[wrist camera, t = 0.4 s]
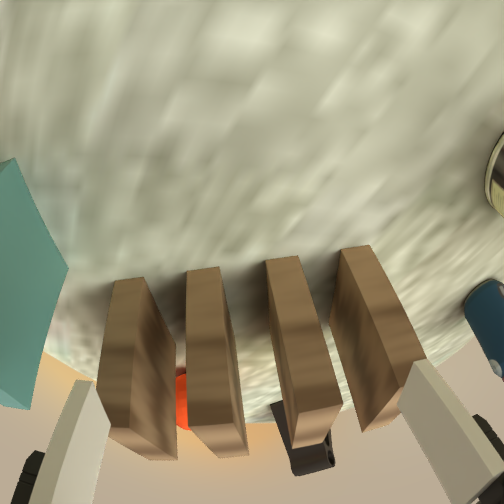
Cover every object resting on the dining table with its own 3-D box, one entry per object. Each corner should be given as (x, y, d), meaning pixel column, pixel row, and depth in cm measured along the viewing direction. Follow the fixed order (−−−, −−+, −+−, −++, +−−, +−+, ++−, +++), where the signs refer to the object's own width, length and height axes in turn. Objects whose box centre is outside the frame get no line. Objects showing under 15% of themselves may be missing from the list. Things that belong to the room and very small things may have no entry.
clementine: (187, 352, 32) (189, 415, 26) (238, 368, 35) (246, 424, 30) (153, 378, 35) (152, 432, 30) (200, 391, 39) (203, 441, 34)
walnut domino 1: (115, 280, 24) (92, 426, 15) (143, 276, 24) (129, 427, 15) (152, 346, 30) (149, 460, 22) (175, 344, 31) (177, 460, 22)
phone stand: (269, 403, 45) (282, 476, 36) (304, 391, 43) (321, 466, 34) (296, 414, 50) (309, 476, 41) (327, 402, 48) (343, 466, 40)
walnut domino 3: (265, 259, 24) (298, 413, 15) (297, 255, 24) (343, 403, 15) (269, 332, 31) (292, 448, 22) (294, 328, 31) (322, 442, 22)
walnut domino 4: (341, 249, 24) (399, 387, 16) (369, 244, 25) (434, 375, 16) (328, 322, 31) (361, 432, 22) (351, 318, 31) (388, 424, 22)
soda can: (454, 317, 36) (491, 391, 27) (468, 285, 31) (514, 367, 22) (490, 301, 35) (527, 368, 27) (505, 269, 31) (551, 341, 22)
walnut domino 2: (186, 270, 24) (187, 426, 15) (219, 266, 24) (233, 422, 15) (209, 340, 31) (218, 458, 22) (234, 337, 31) (249, 455, 22)
